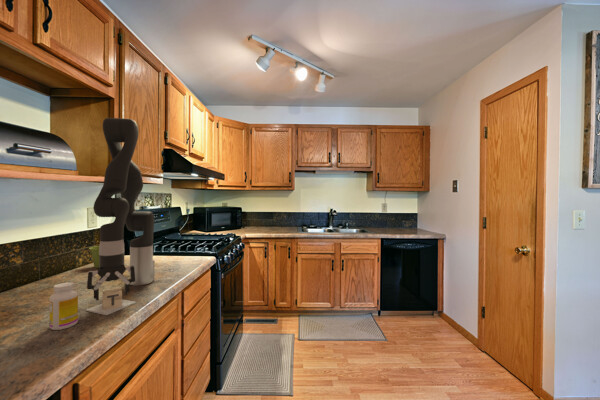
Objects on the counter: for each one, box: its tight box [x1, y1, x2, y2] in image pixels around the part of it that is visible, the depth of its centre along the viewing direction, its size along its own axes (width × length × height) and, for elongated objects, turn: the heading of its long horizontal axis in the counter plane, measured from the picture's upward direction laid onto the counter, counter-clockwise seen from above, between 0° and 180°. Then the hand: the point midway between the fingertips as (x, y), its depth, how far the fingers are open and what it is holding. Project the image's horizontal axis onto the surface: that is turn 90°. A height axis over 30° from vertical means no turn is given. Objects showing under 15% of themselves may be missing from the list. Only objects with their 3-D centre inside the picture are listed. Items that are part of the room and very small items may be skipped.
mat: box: [85, 298, 137, 316], centre depth 97 cm, size 11×10×1 cm
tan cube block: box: [101, 286, 123, 310], centre depth 97 cm, size 6×6×6 cm
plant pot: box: [88, 245, 99, 269], centre depth 151 cm, size 12×12×11 cm
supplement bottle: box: [48, 281, 79, 331], centre depth 83 cm, size 7×7×13 cm
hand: (112, 296), depth 97 cm, fingers open, 8 cm apart
